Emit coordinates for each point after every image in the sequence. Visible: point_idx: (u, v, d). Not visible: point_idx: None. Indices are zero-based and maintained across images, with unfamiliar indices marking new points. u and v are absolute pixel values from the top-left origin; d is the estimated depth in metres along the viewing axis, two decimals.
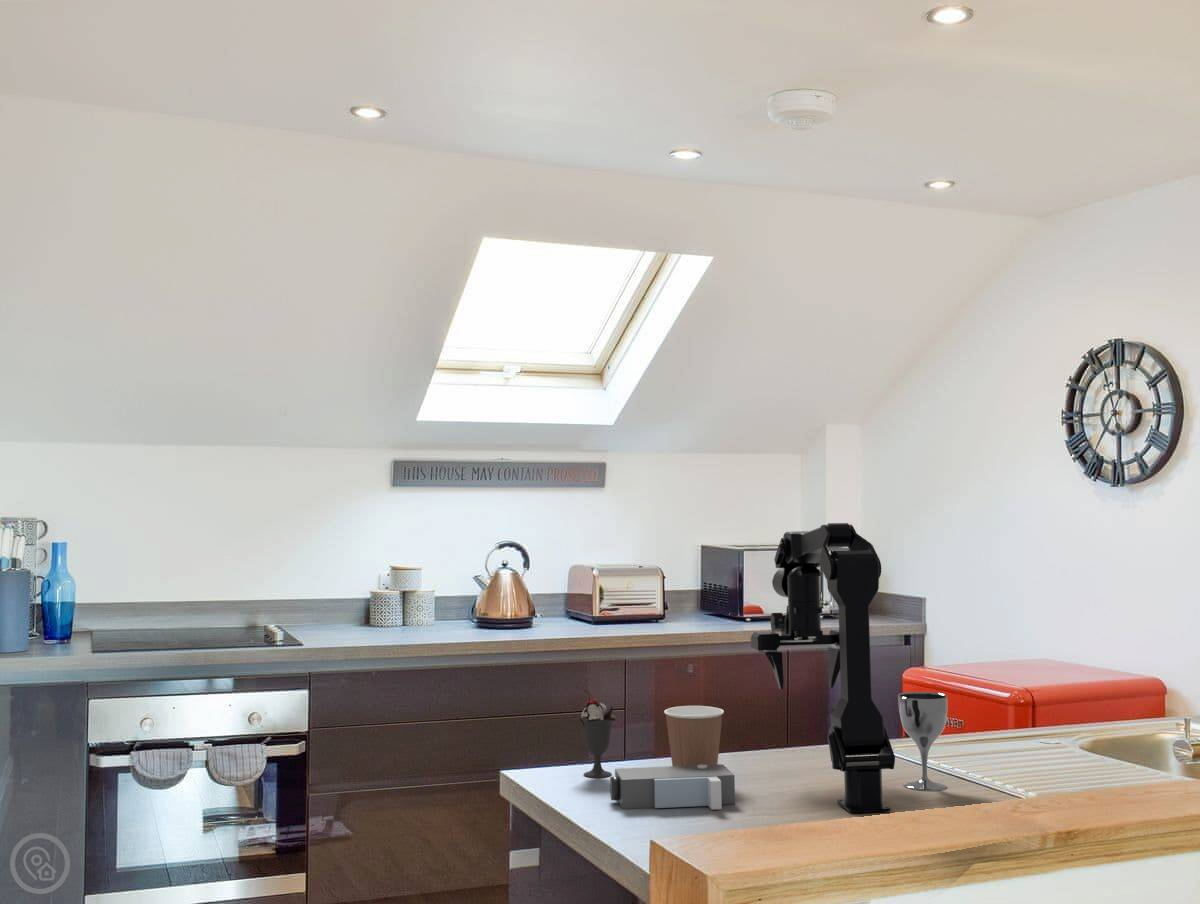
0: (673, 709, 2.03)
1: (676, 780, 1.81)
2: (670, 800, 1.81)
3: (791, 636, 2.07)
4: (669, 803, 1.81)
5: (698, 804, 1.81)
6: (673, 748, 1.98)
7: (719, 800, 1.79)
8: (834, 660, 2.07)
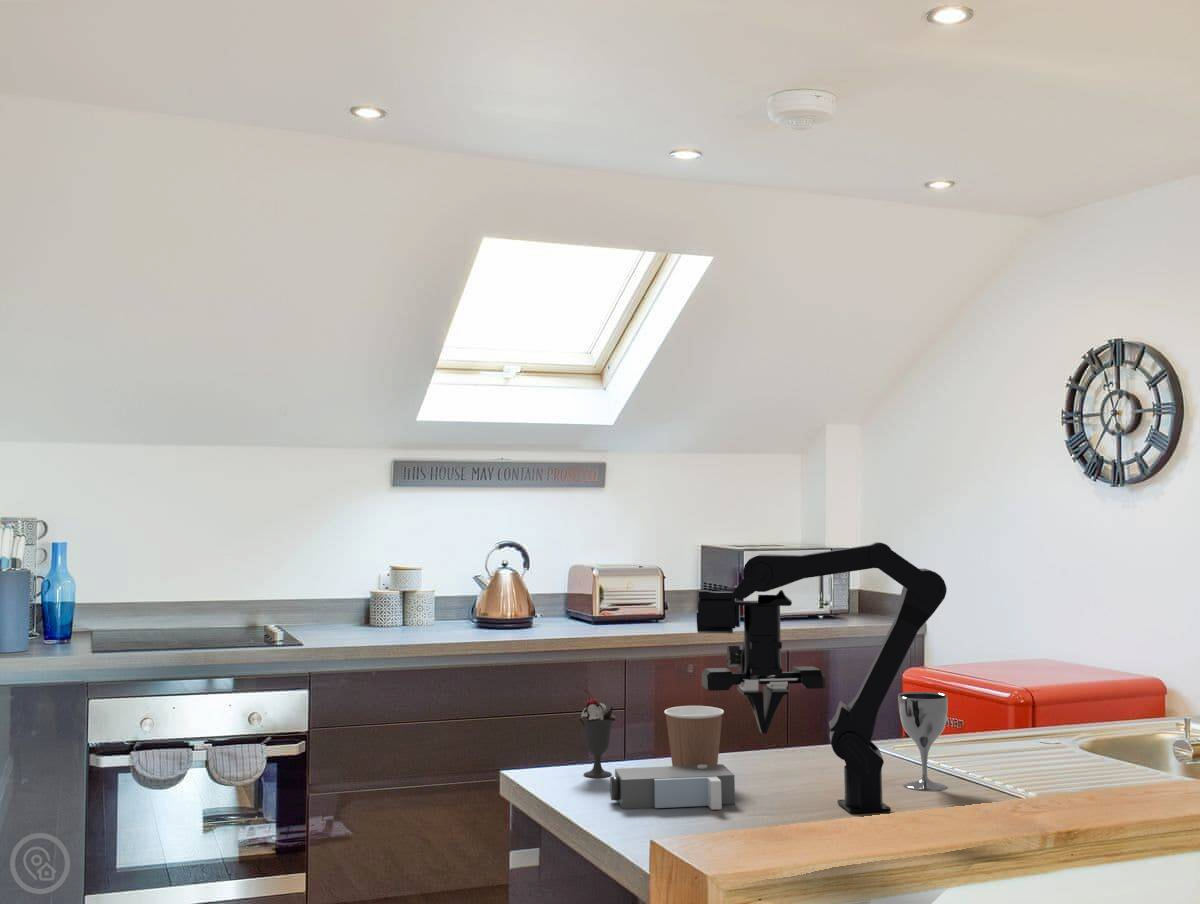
0: (673, 709, 2.03)
1: (676, 780, 1.81)
2: (670, 800, 1.81)
3: (746, 674, 1.82)
4: (669, 803, 1.81)
5: (698, 804, 1.81)
6: (673, 748, 1.98)
7: (719, 800, 1.79)
8: (768, 703, 1.81)
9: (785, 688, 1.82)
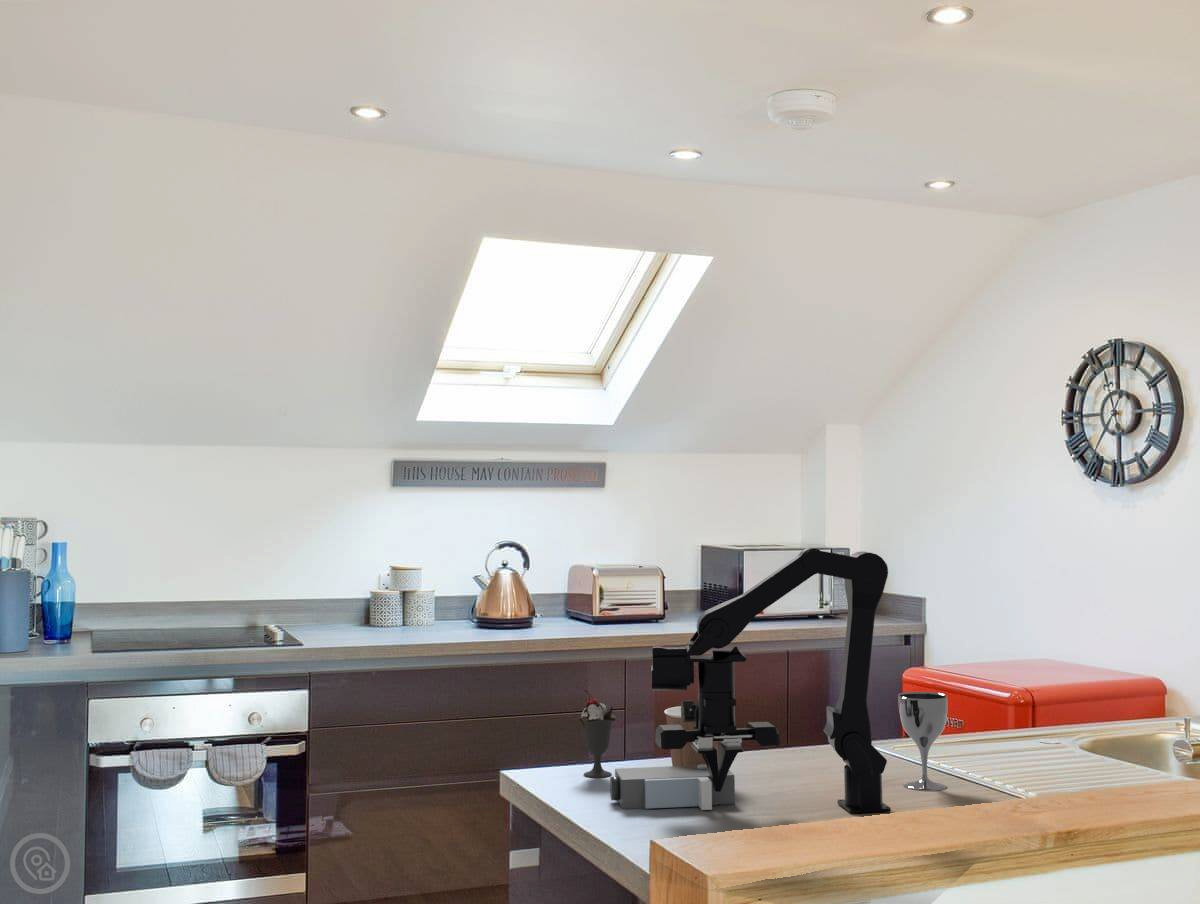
0: (673, 709, 2.03)
1: (666, 780, 1.81)
2: (661, 801, 1.81)
3: (700, 731, 1.80)
4: (659, 803, 1.81)
5: (689, 804, 1.81)
6: None
7: (709, 800, 1.79)
8: (722, 760, 1.79)
9: (739, 745, 1.80)
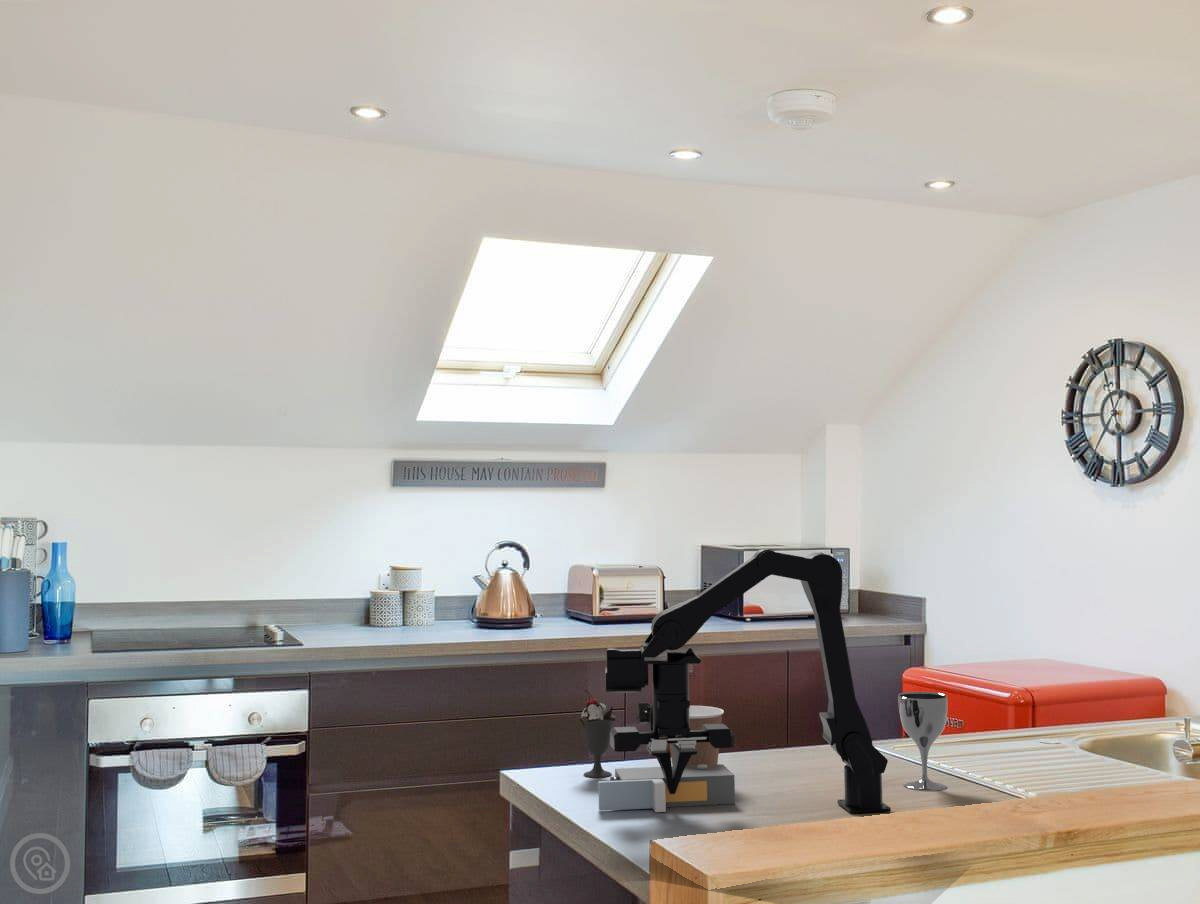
0: None
1: (620, 782, 1.80)
2: (615, 803, 1.80)
3: (654, 733, 1.79)
4: (613, 805, 1.80)
5: (643, 806, 1.80)
6: None
7: (663, 802, 1.78)
8: (676, 763, 1.78)
9: (694, 747, 1.79)
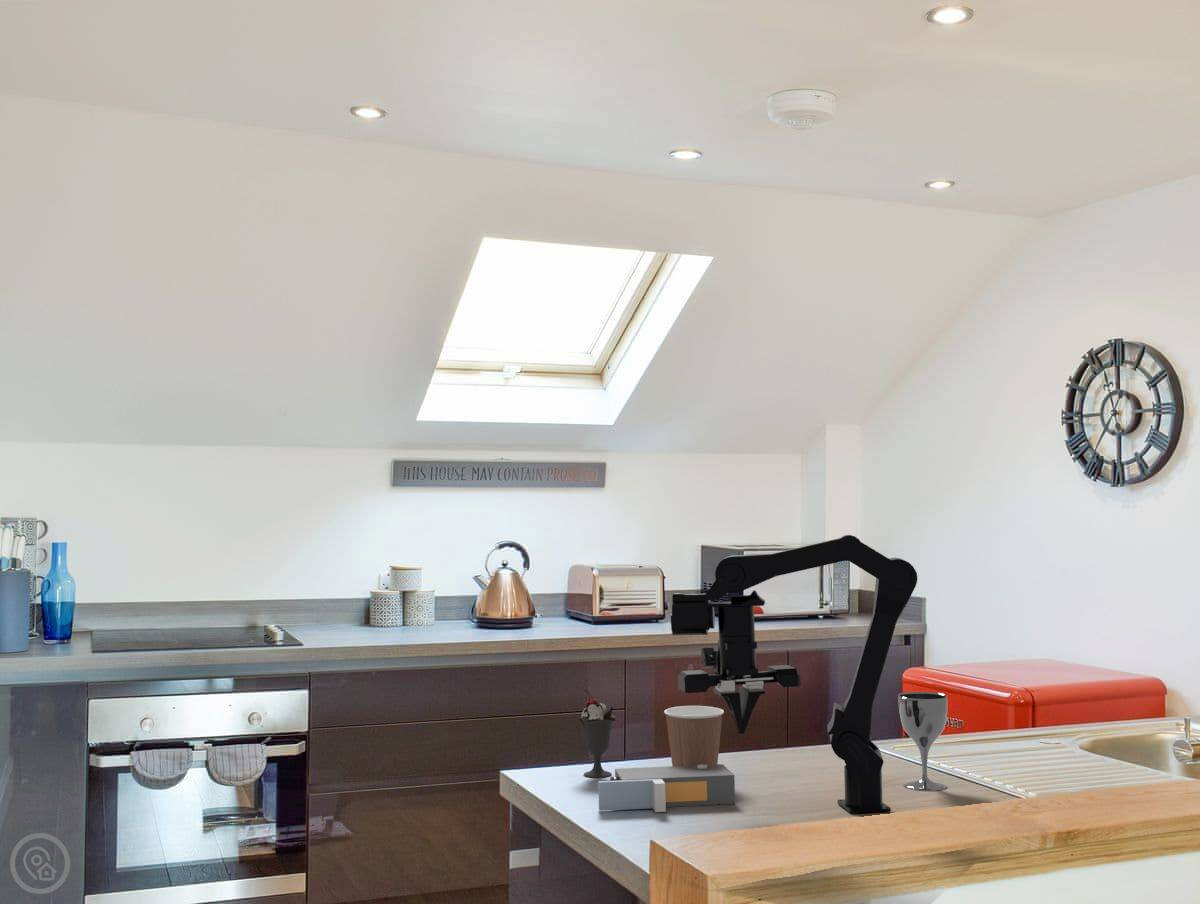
0: (673, 709, 2.03)
1: (620, 782, 1.80)
2: (615, 803, 1.80)
3: (723, 675, 1.83)
4: (613, 805, 1.80)
5: (643, 806, 1.80)
6: (673, 748, 1.98)
7: (663, 802, 1.78)
8: (745, 703, 1.82)
9: (761, 688, 1.83)
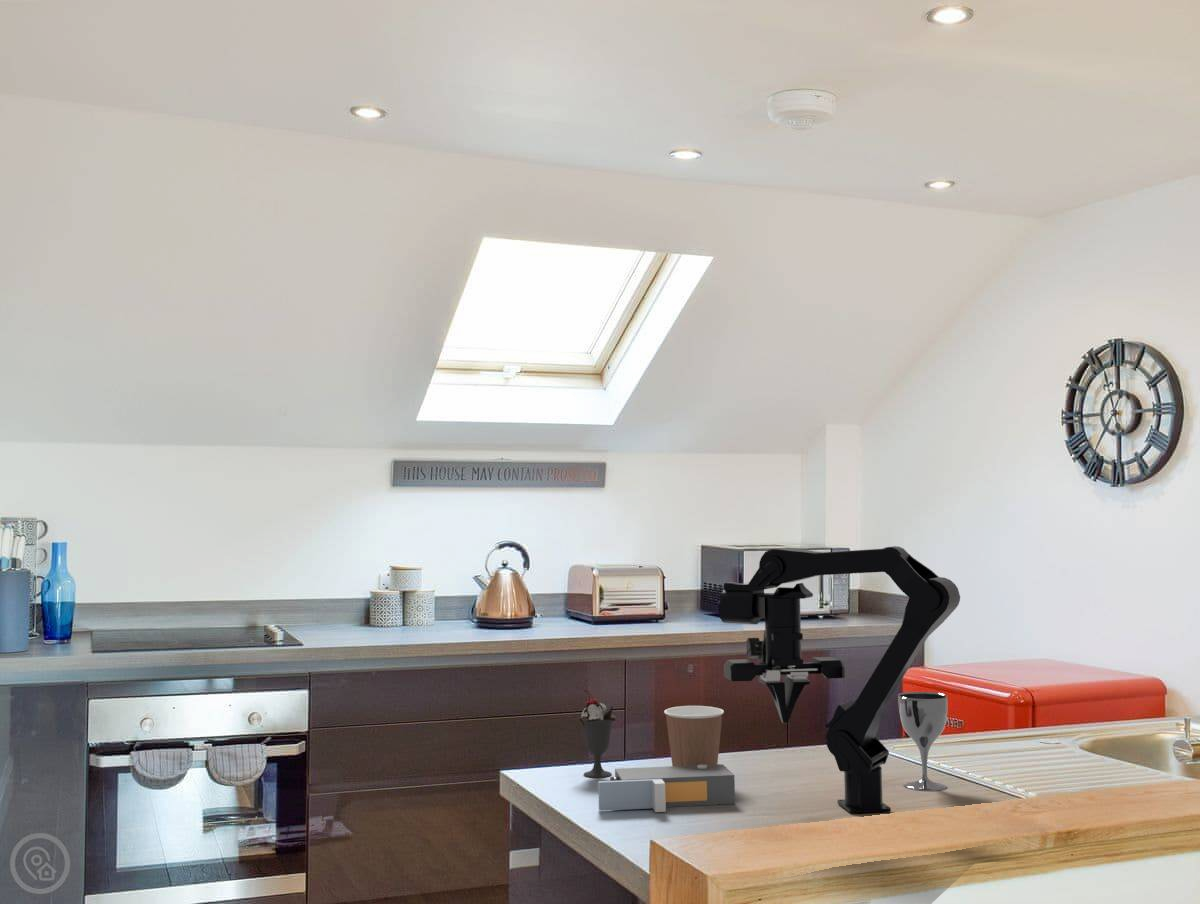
0: (673, 709, 2.03)
1: (620, 782, 1.80)
2: (615, 803, 1.80)
3: (768, 665, 1.86)
4: (613, 805, 1.80)
5: (643, 806, 1.80)
6: (673, 748, 1.98)
7: (663, 802, 1.78)
8: (790, 693, 1.86)
9: (806, 678, 1.86)
